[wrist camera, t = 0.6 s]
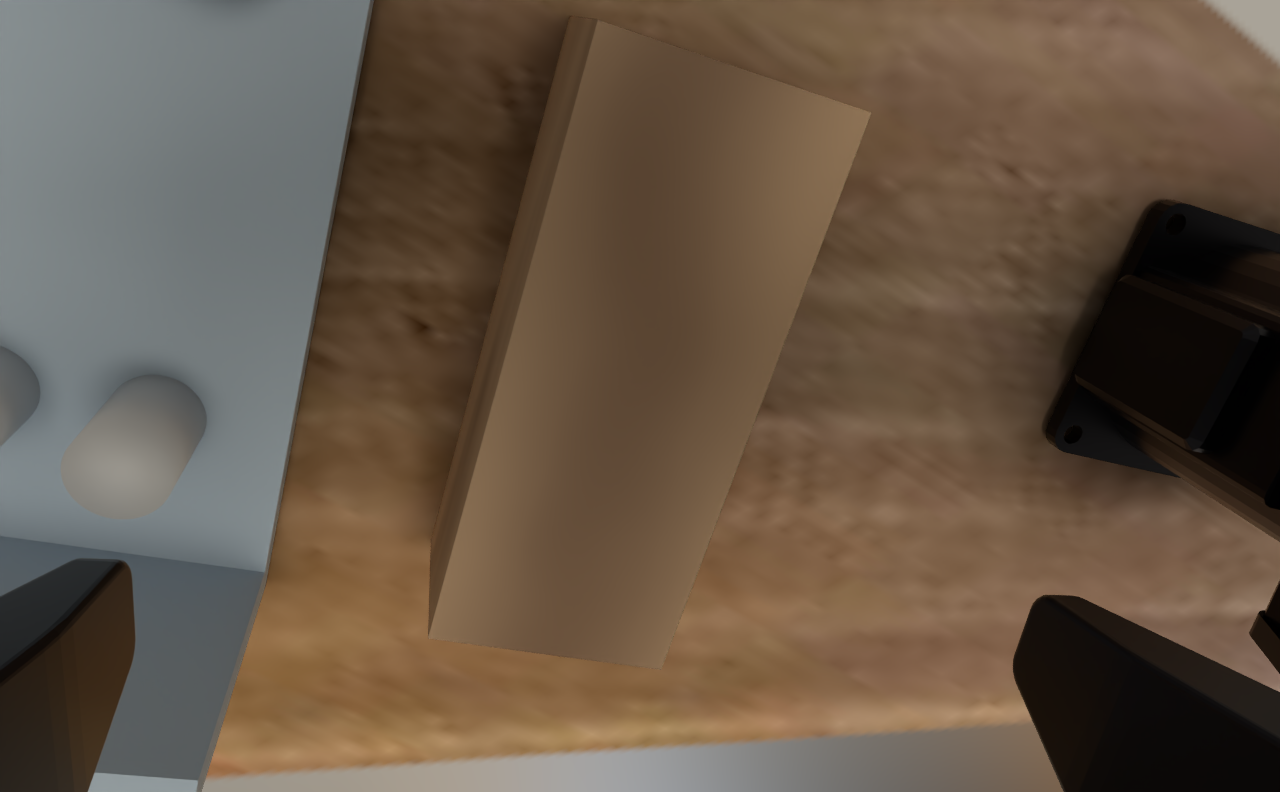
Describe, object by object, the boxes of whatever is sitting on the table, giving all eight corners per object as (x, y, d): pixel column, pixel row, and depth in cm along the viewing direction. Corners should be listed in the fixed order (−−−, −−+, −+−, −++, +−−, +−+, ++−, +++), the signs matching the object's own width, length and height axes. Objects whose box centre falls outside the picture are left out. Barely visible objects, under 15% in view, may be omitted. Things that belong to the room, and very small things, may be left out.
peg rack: (425, -275, 16) (409, -458, 10) (265, 584, 22) (190, 827, 15) (-124, -492, 14) (-614, -916, 7) (-141, 530, 19) (-427, 787, 13)
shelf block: (794, 91, 20) (871, 112, 16) (628, 567, 24) (660, 669, 20) (567, 15, 18) (597, 19, 15) (431, 534, 22) (428, 638, 19)
